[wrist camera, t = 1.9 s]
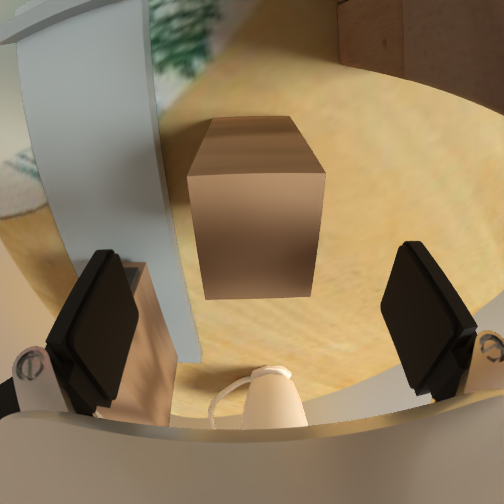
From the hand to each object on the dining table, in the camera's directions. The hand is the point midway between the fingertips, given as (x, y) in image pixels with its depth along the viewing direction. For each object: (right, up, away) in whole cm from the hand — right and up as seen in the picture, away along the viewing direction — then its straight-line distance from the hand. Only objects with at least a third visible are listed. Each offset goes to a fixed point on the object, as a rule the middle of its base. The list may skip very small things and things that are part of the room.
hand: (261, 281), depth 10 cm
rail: (-9, +3, +8) cm, 13 cm away
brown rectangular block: (0, +6, +7) cm, 9 cm away
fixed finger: (-9, -4, +12) cm, 16 cm away
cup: (0, -12, +21) cm, 24 cm away
